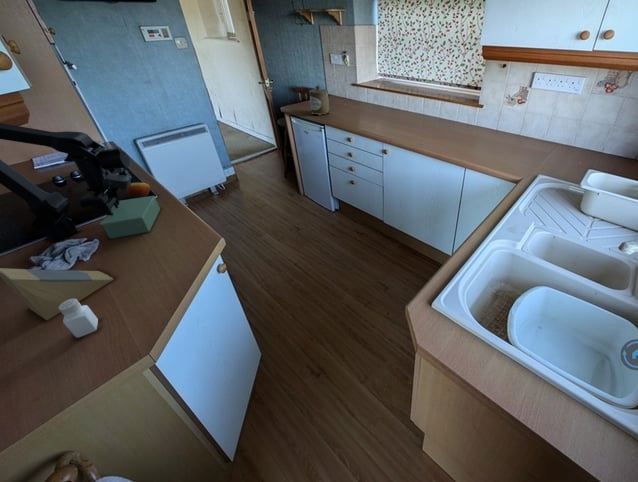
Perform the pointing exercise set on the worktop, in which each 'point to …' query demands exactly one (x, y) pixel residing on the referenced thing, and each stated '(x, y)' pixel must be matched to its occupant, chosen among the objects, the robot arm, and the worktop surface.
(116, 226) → the green lidded box
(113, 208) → the bin lid
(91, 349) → the worktop surface
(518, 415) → the worktop surface
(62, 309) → the white pill bottle
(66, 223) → the robot arm
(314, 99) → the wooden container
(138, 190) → the fruit
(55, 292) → the sandwich container
